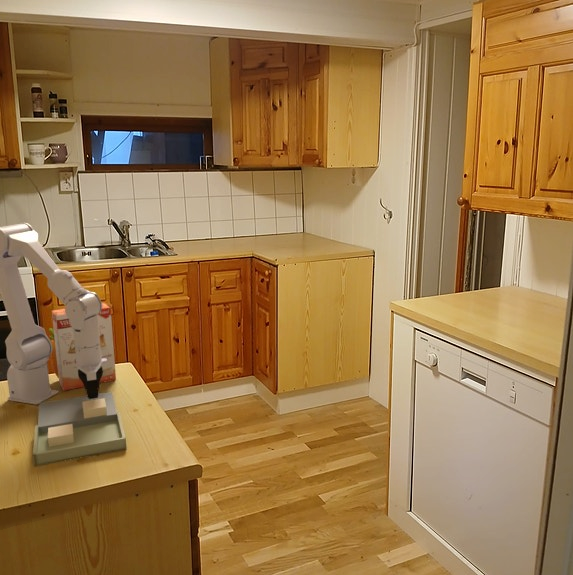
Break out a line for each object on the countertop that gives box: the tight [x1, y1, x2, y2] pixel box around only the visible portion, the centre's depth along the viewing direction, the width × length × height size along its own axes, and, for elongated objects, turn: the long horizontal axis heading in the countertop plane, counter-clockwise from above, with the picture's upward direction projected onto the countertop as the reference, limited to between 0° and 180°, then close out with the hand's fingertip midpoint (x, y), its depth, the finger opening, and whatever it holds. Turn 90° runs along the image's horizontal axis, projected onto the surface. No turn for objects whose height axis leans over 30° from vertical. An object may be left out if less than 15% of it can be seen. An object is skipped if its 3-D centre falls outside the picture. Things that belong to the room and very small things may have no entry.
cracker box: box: [51, 302, 117, 392], centre depth 157 cm, size 14×6×21 cm, turn 122°
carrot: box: [48, 327, 59, 379], centre depth 159 cm, size 5×5×15 cm
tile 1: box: [48, 424, 74, 447], centre depth 128 cm, size 5×5×2 cm
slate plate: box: [37, 391, 118, 434], centre depth 139 cm, size 14×17×2 cm
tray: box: [32, 411, 128, 467], centre depth 127 cm, size 14×18×2 cm
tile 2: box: [82, 398, 107, 419], centre depth 137 cm, size 5×5×2 cm
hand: (93, 397), depth 143 cm, fingers closed
